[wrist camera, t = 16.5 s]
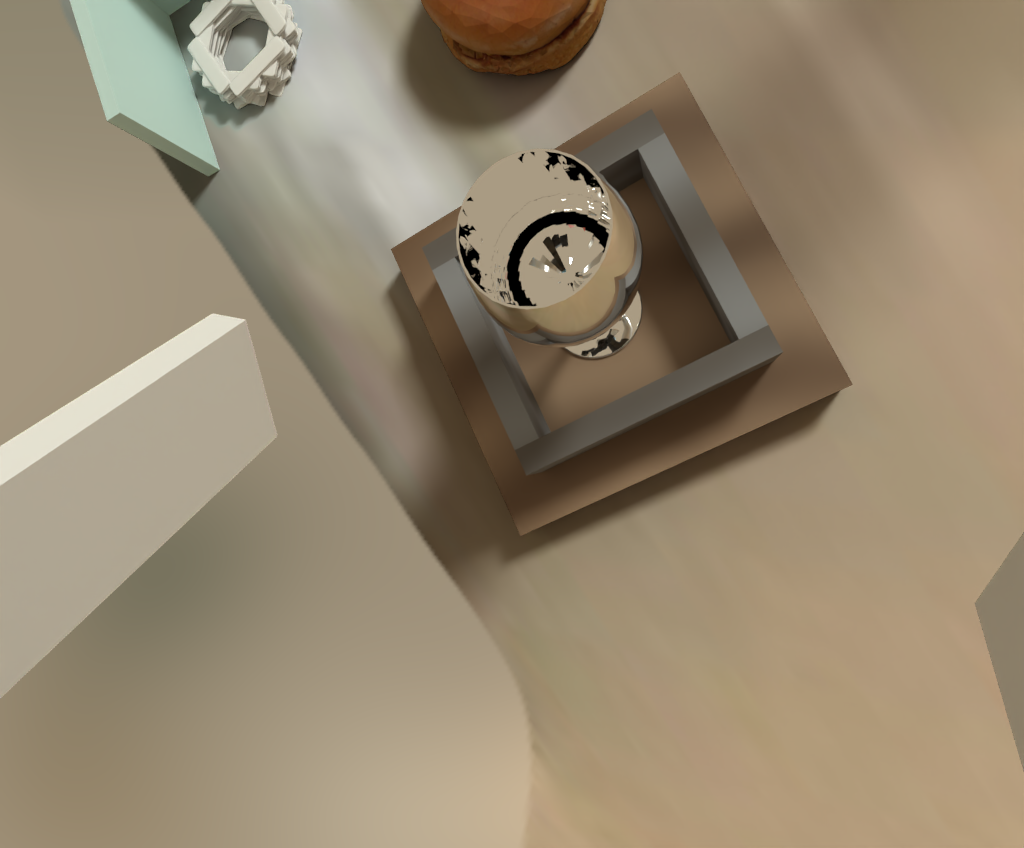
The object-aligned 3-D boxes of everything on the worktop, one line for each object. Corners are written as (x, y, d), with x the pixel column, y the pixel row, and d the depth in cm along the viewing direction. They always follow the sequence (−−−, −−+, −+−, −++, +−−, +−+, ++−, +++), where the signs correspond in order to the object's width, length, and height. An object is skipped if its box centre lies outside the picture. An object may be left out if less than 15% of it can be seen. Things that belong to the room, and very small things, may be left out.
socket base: (842, 388, 28) (872, 377, 24) (530, 530, 32) (502, 545, 27) (680, 94, 31) (678, 31, 26) (407, 259, 35) (361, 230, 30)
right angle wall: (215, 180, 39) (106, 121, 32) (160, 14, 40) (45, -79, 33) (380, 82, 36) (302, -7, 29) (315, -93, 38) (225, -220, 30)
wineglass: (563, 393, 30) (482, 363, 18) (516, 285, 31) (409, 192, 19) (678, 338, 29) (669, 269, 17) (625, 227, 29) (582, 90, 18)
